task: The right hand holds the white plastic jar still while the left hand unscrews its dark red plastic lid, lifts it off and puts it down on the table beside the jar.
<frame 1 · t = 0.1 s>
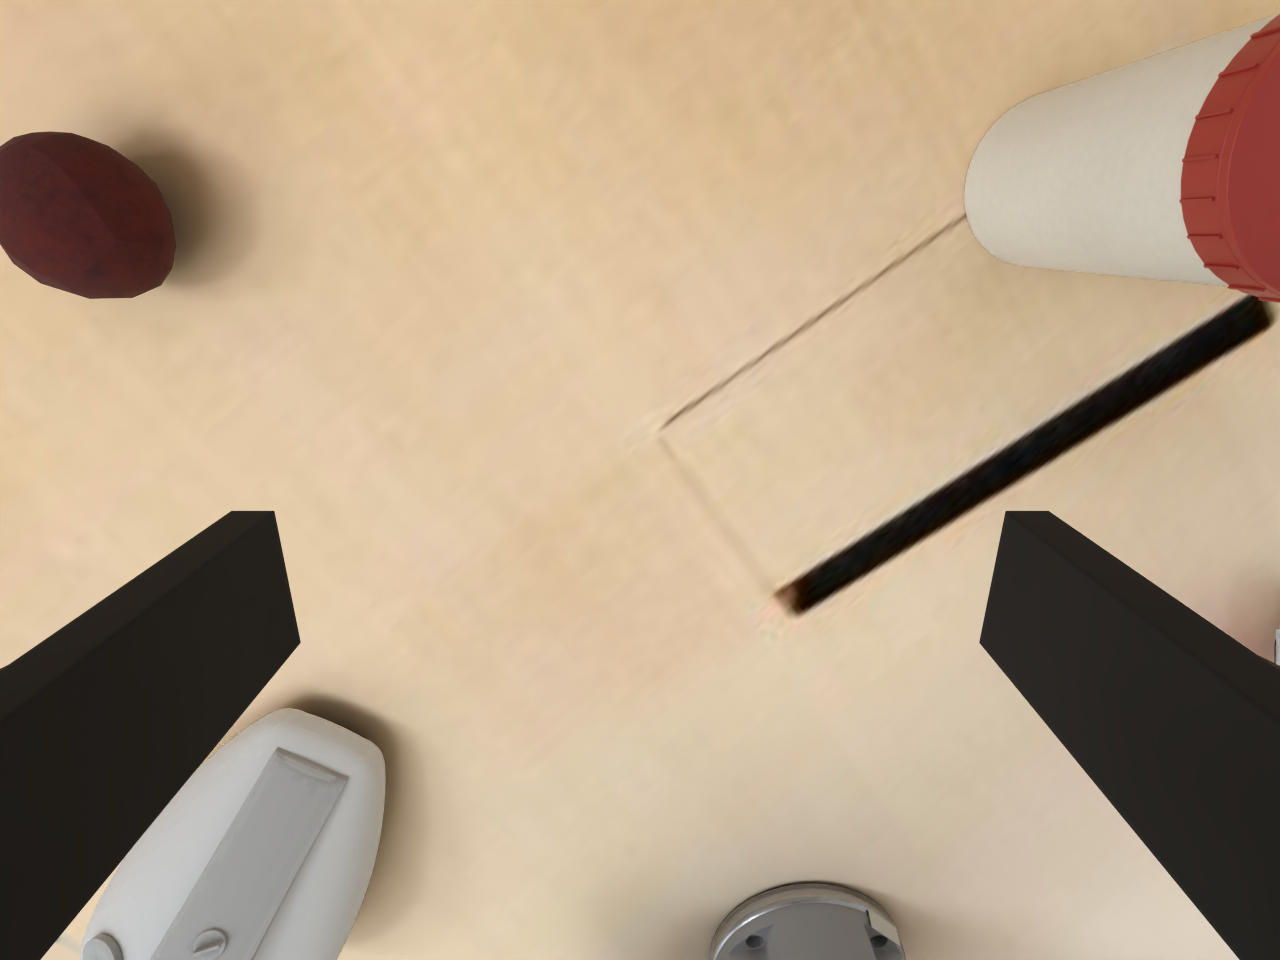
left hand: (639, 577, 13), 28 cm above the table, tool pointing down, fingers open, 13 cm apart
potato: (137, 222, 37), on the table
projector: (282, 817, 51), on the table
jar: (1045, 182, 36), on the table
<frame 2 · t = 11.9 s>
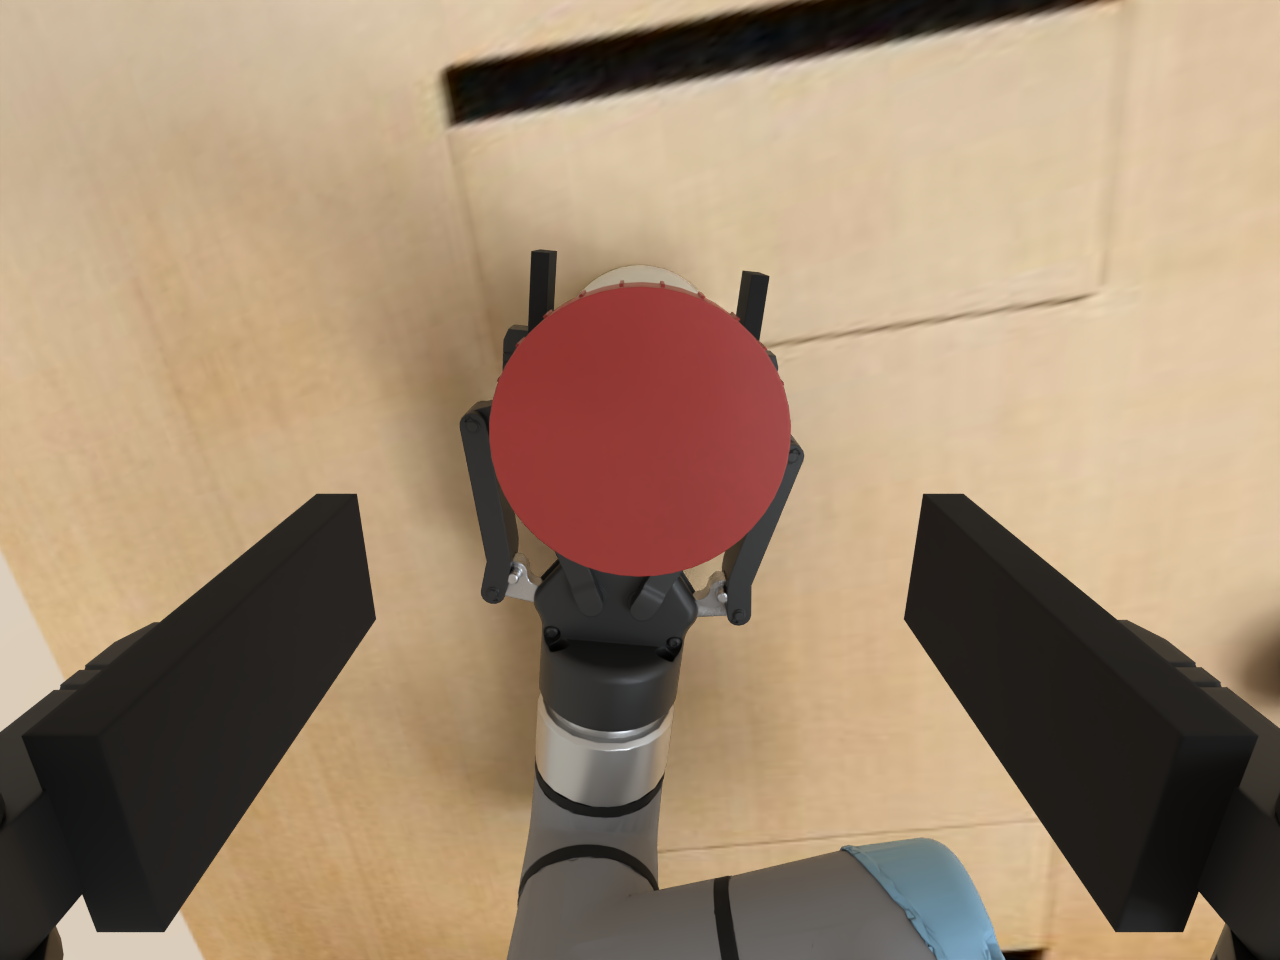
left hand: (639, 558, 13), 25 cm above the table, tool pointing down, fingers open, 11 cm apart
right hand: (650, 262, 30), fingers closed on jar, 8 cm apart
jar: (640, 347, 37), on the table, touching right hand
lid: (639, 439, 21), point 17 cm above the table, screwed on, not yet turned
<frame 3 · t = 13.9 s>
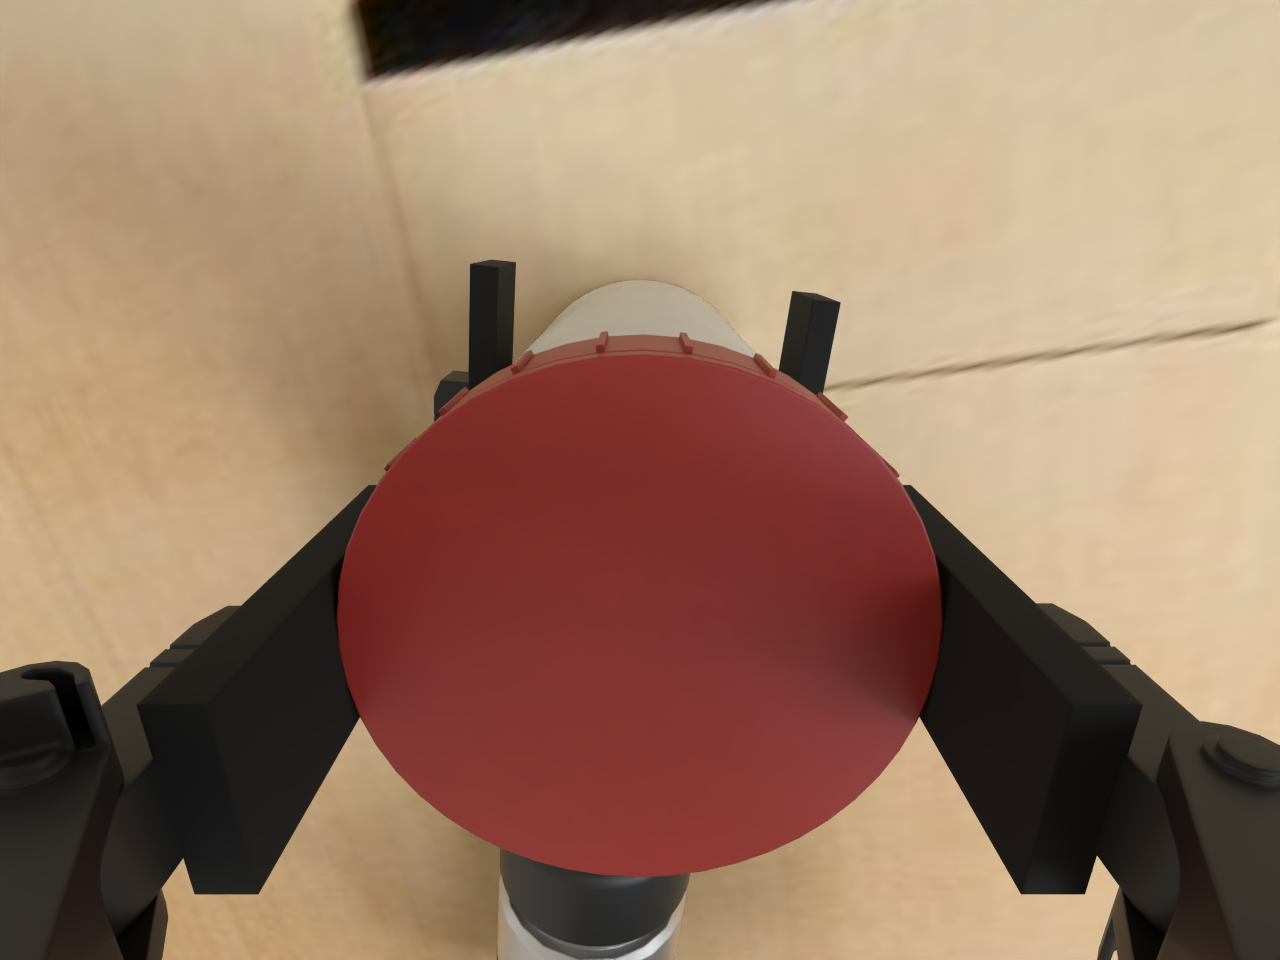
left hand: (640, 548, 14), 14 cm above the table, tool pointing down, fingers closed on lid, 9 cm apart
jar: (639, 392, 27), on the table, touching right hand
lid: (639, 642, 11), point 17 cm above the table, screwed on, not yet turned, touching left hand
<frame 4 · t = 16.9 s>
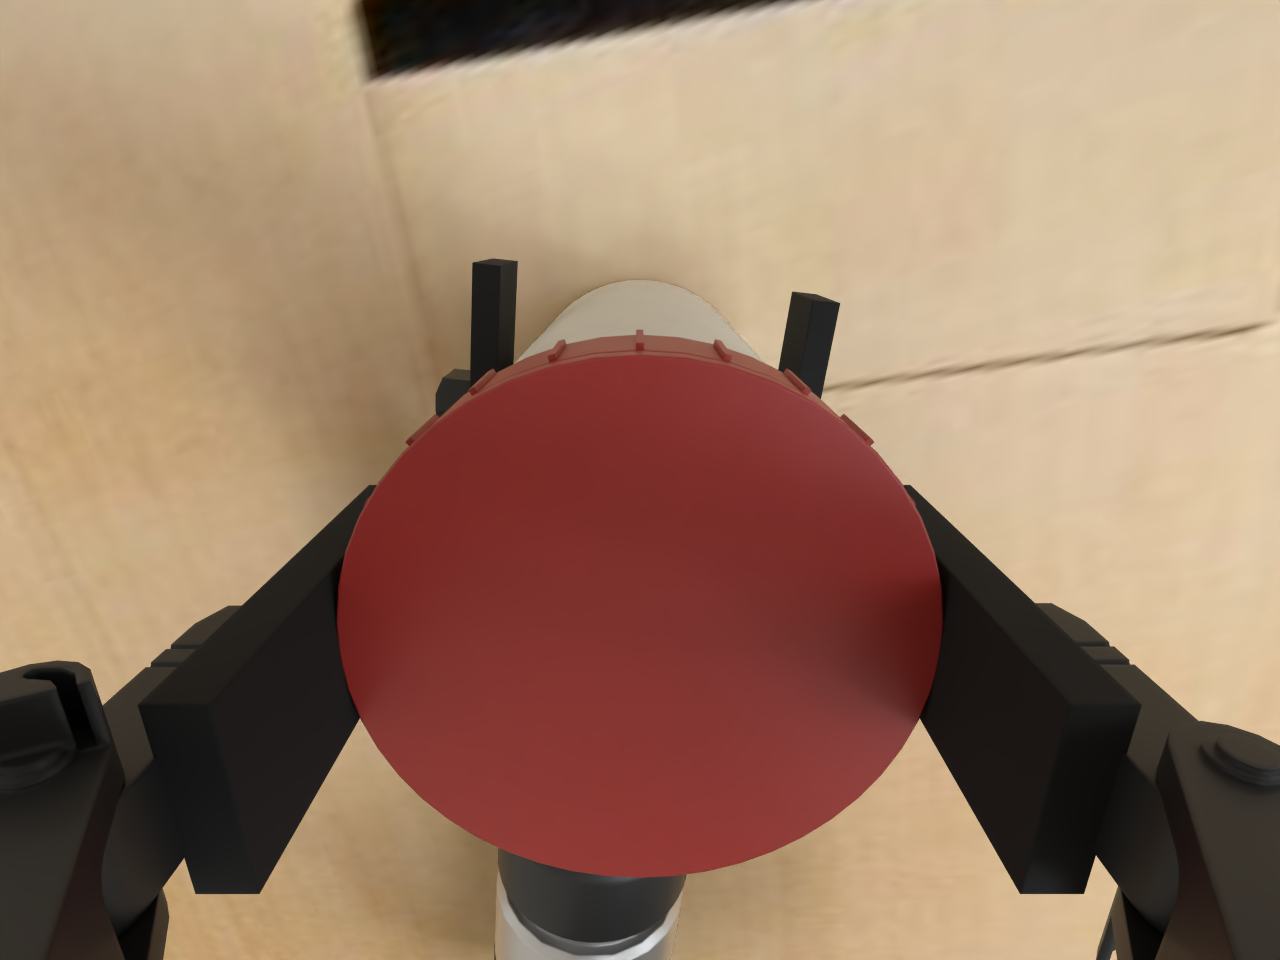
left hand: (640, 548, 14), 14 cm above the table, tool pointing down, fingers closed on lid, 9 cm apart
jar: (639, 391, 27), on the table, touching right hand
lid: (639, 643, 11), point 17 cm above the table, turned 99° so far, risen 0.1 cm, still on its thread, touching left hand
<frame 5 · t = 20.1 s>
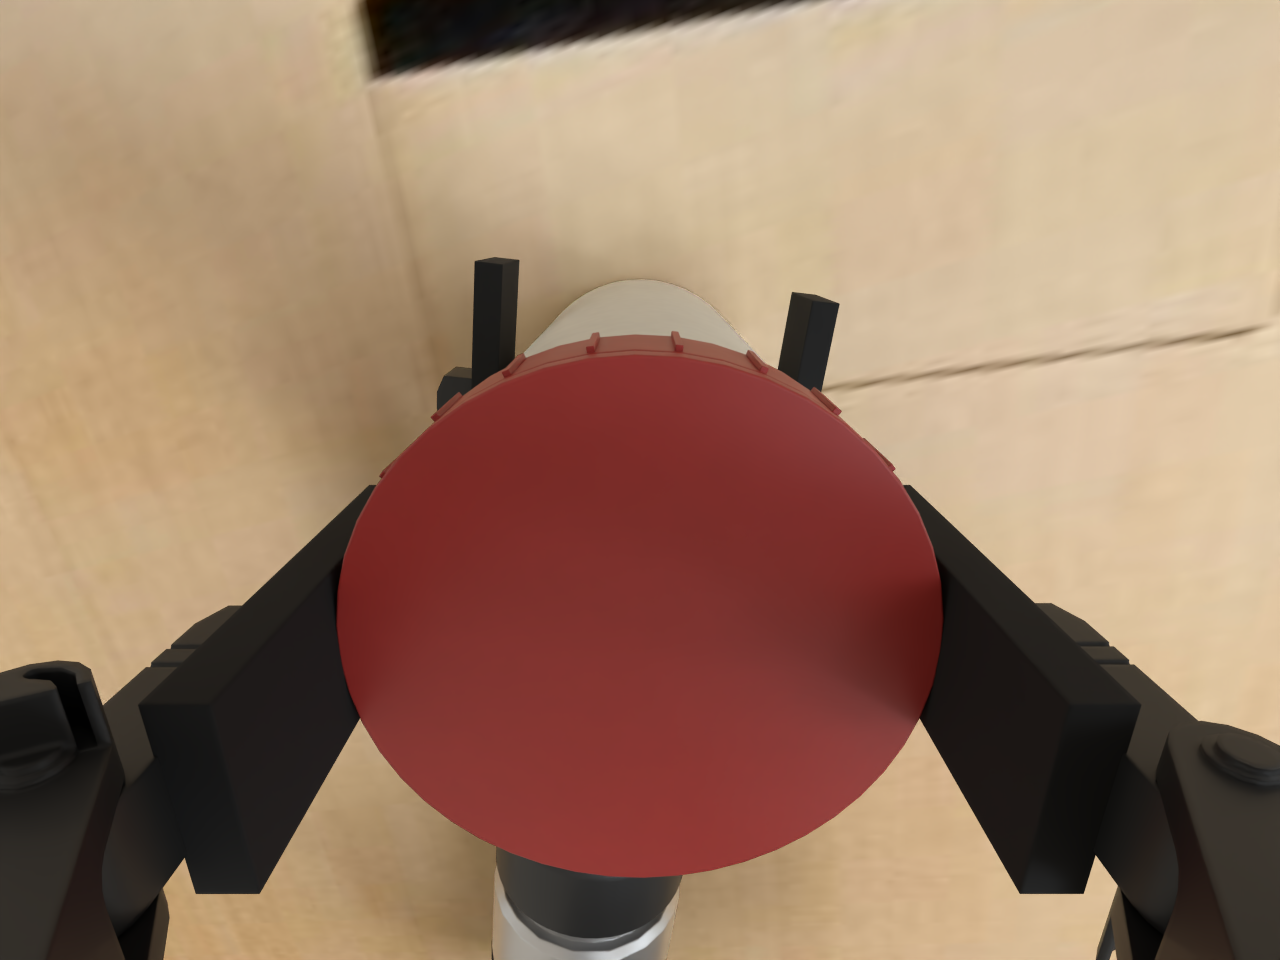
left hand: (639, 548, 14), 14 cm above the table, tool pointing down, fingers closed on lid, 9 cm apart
jar: (639, 390, 27), on the table, touching right hand
lid: (639, 643, 11), point 18 cm above the table, turned 197° so far, risen 0.3 cm, still on its thread, touching left hand
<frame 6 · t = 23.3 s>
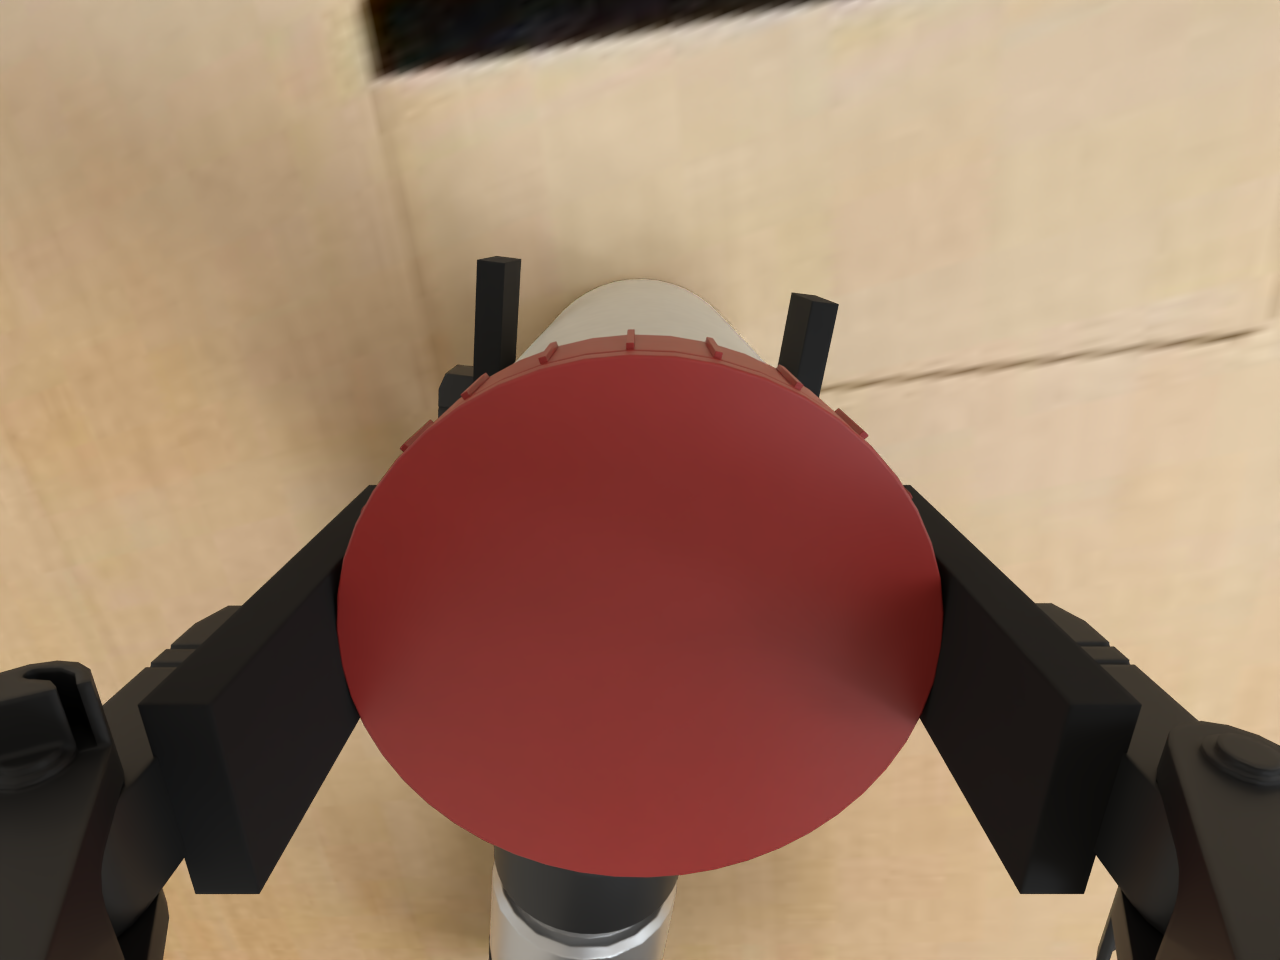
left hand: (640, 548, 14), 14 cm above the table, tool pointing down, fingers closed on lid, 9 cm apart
jar: (639, 389, 27), on the table, touching right hand
lid: (639, 643, 11), point 18 cm above the table, turned 296° so far, risen 0.4 cm, still on its thread, touching left hand
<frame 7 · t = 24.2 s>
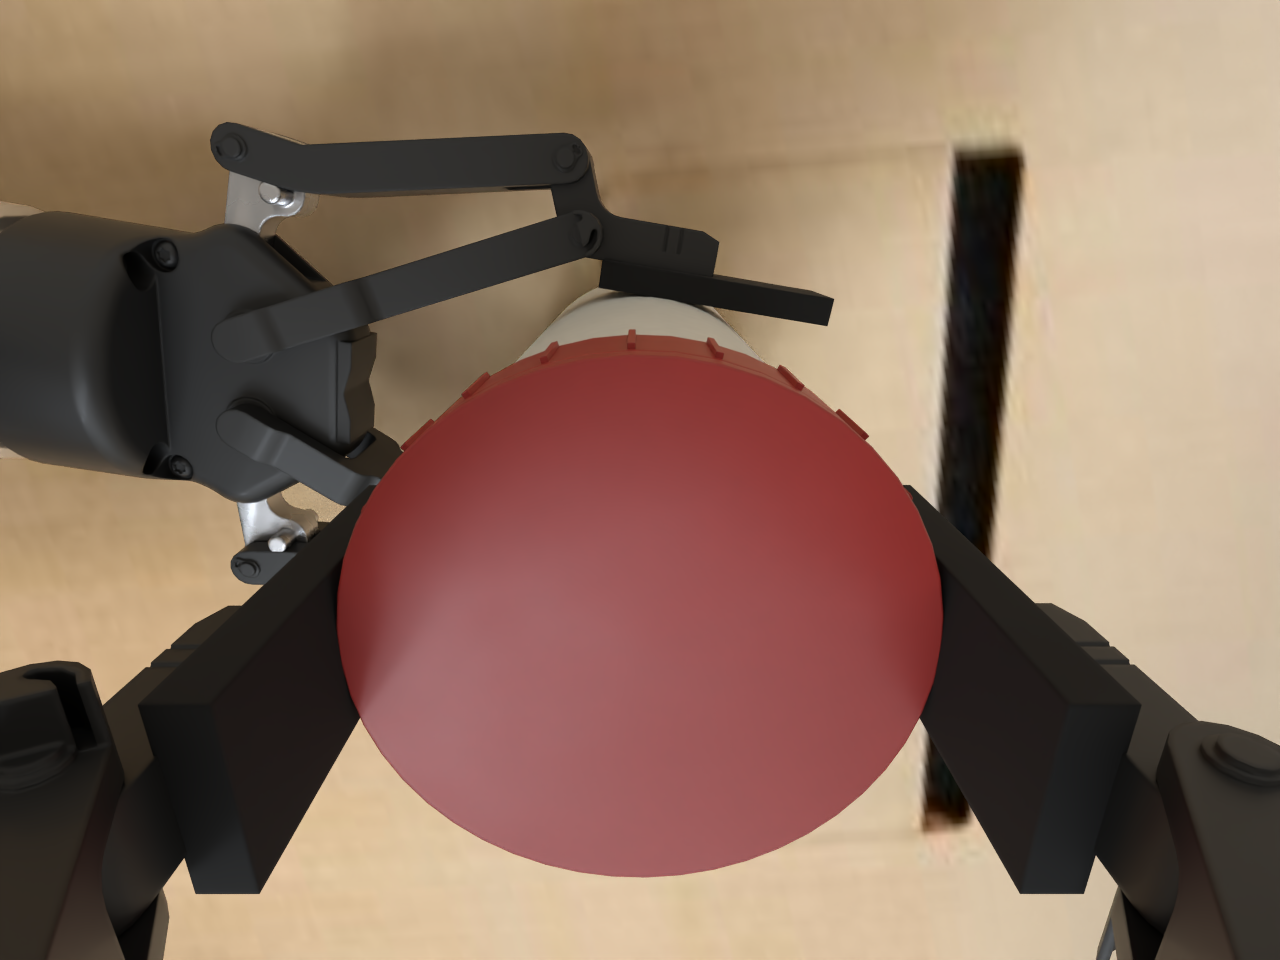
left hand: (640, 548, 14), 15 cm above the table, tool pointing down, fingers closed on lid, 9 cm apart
right hand: (782, 452, 22), fingers closed on jar, 8 cm apart
jar: (639, 389, 27), on the table, touching right hand
lid: (639, 643, 11), point 18 cm above the table, off its thread, touching left hand
when the left hand's fingers open (0 cm above the table, at t = 30.2 s): lid drops 2 cm, point 2 cm above the table.
when the right hand's fingers open (6 cm above the table, at t = 31.2 s): jar stays where it is, on the table.
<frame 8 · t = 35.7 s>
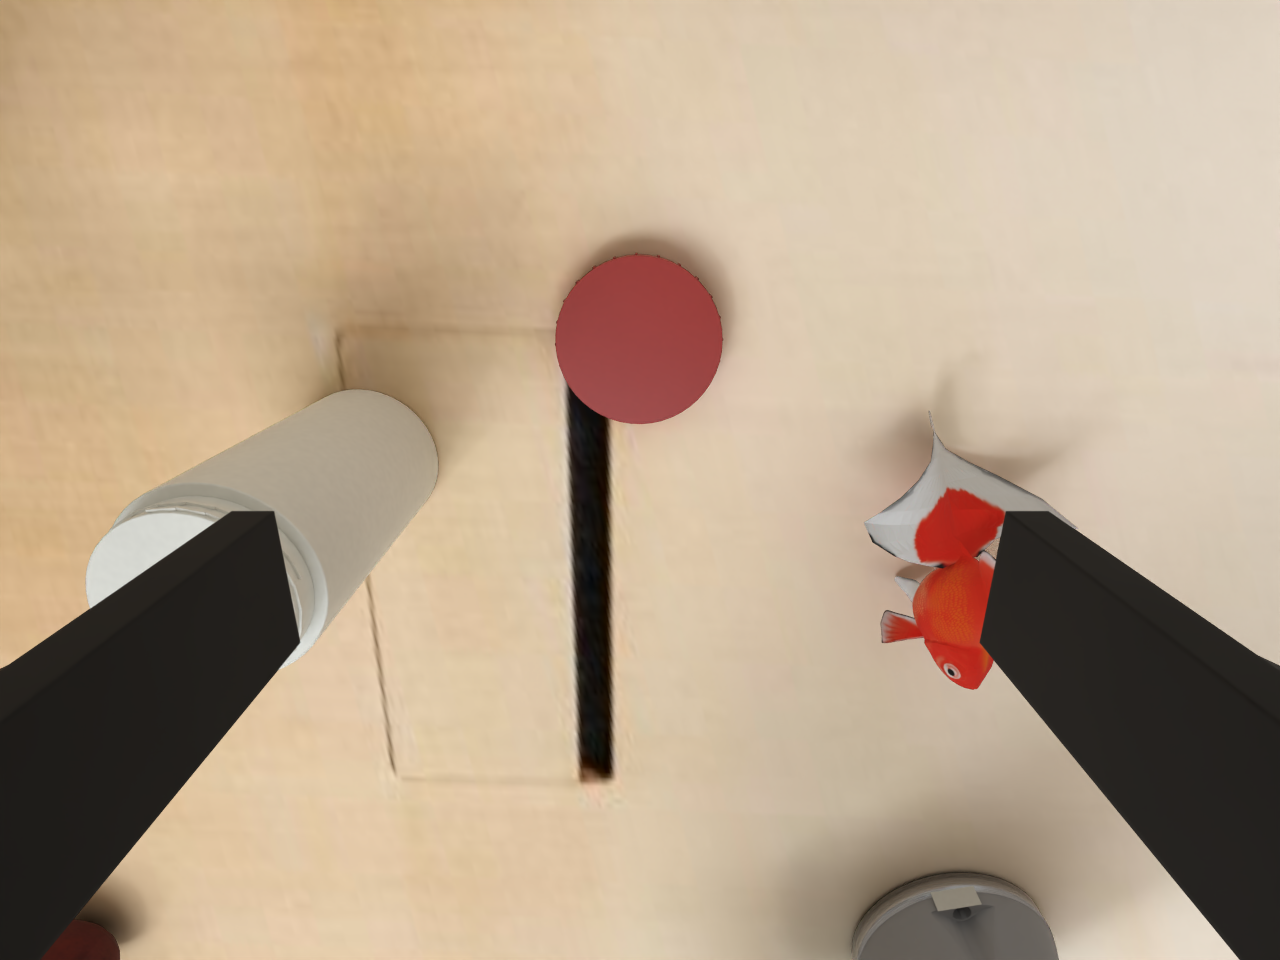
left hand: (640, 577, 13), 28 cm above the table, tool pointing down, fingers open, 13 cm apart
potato: (93, 928, 55), on the table
fish: (919, 522, 43), on the table
jar: (367, 458, 41), on the table
lid: (639, 342, 37), point 2 cm above the table, off its thread
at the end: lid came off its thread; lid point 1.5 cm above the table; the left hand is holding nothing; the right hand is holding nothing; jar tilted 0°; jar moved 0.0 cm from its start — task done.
